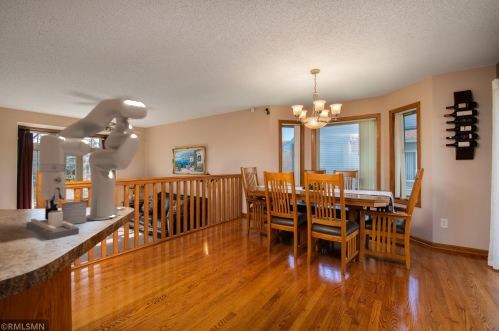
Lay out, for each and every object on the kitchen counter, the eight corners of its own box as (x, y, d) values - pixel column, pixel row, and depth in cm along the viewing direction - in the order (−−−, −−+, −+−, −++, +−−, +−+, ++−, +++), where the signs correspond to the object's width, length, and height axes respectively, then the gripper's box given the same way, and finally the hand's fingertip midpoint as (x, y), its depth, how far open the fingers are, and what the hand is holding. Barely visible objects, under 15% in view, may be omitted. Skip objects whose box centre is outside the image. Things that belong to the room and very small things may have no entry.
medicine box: (84, 220, 99) (84, 201, 99) (86, 222, 96) (86, 202, 96) (60, 223, 93) (61, 202, 93) (62, 226, 90) (62, 204, 90)
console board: (52, 223, 93) (53, 215, 93) (78, 233, 81) (79, 224, 81) (26, 227, 87) (26, 218, 87) (50, 239, 74) (50, 229, 74)
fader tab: (59, 224, 84) (59, 209, 84) (62, 226, 82) (63, 210, 82) (48, 226, 81) (48, 210, 81) (51, 228, 80) (51, 212, 80)
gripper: (73, 169, 83) (71, 219, 83) (57, 168, 91) (56, 214, 91) (46, 169, 77) (45, 224, 76) (32, 168, 85) (31, 217, 85)
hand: (51, 218), depth 84 cm, fingers closed
